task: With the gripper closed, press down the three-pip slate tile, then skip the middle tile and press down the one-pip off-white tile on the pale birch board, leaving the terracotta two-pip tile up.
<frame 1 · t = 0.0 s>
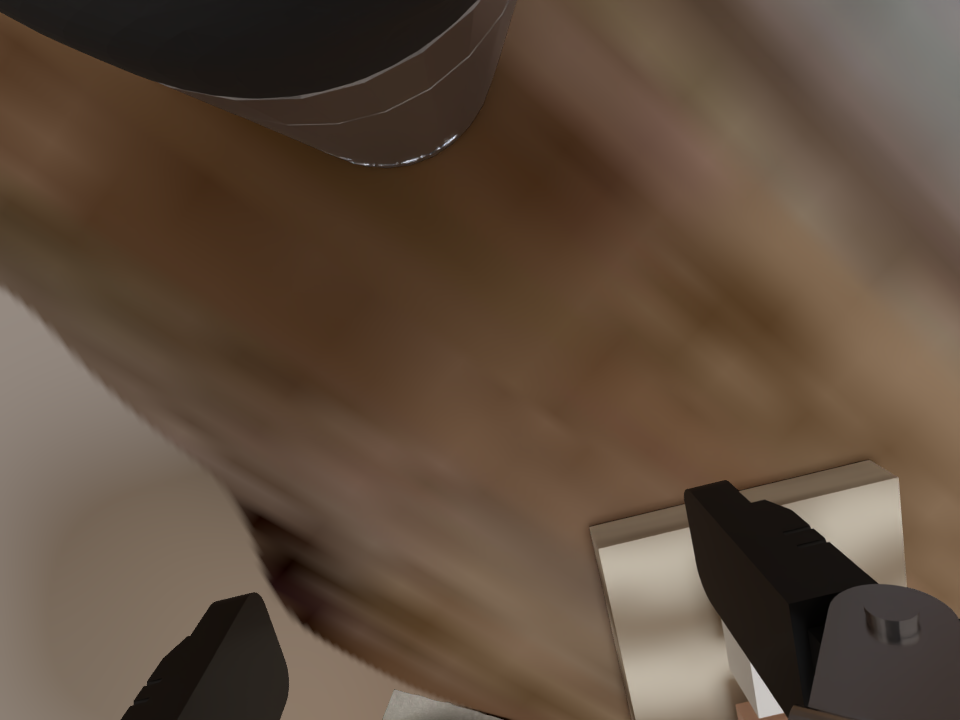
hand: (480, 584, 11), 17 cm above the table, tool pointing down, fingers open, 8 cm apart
board: (757, 677, 33), on the table
tile 1: (794, 633, 26), point 5 cm above the table, slide at 0.0 cm
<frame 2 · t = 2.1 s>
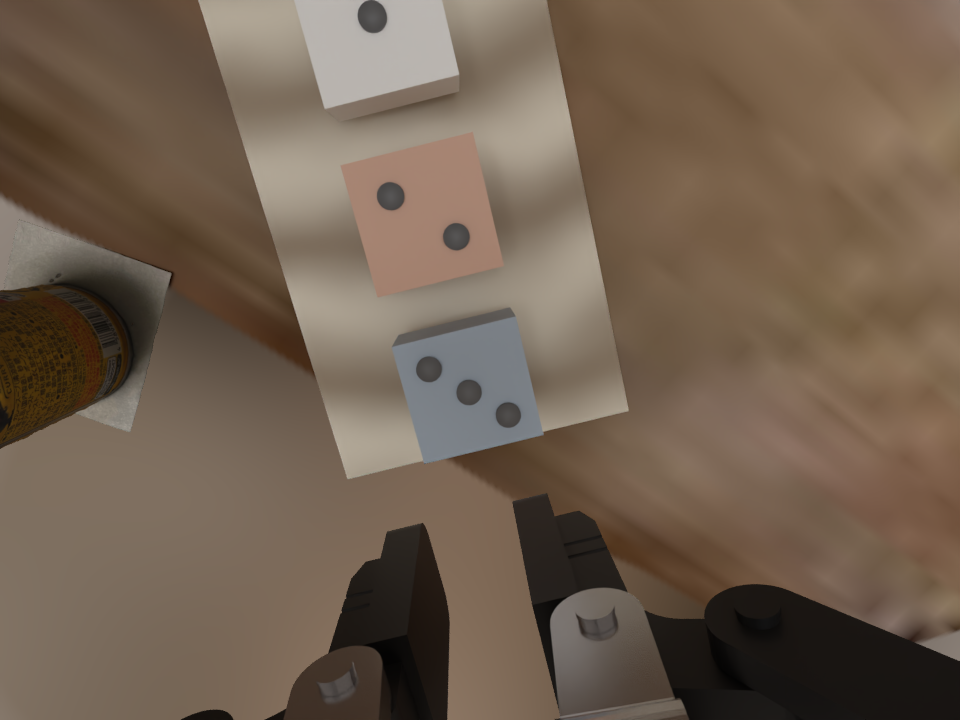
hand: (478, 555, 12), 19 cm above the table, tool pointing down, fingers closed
tile 2: (425, 217, 24), point 5 cm above the table, slide at 0.0 cm
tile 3: (468, 383, 26), point 5 cm above the table, slide at 0.0 cm
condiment: (81, 328, 30), on the table
board: (431, 219, 30), on the table
tile 1: (377, 29, 23), point 5 cm above the table, slide at 0.0 cm
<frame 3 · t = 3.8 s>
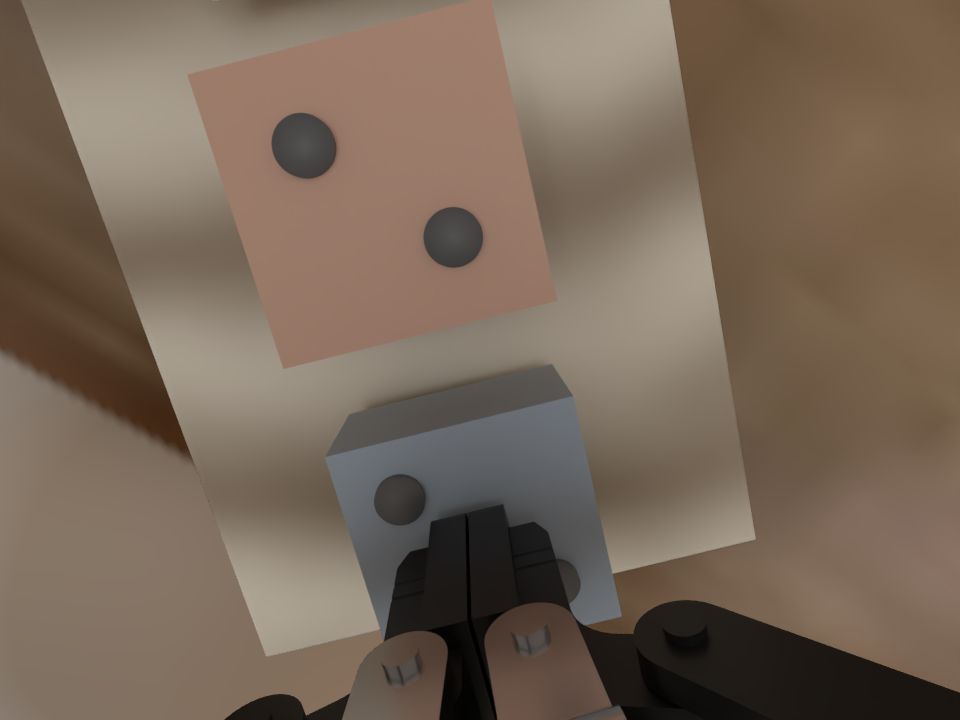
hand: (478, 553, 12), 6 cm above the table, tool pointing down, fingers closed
tile 2: (389, 196, 12), point 5 cm above the table, slide at 0.0 cm
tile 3: (477, 510, 14), point 5 cm above the table, slide at 0.7 cm, touching gripper
board: (410, 204, 17), on the table
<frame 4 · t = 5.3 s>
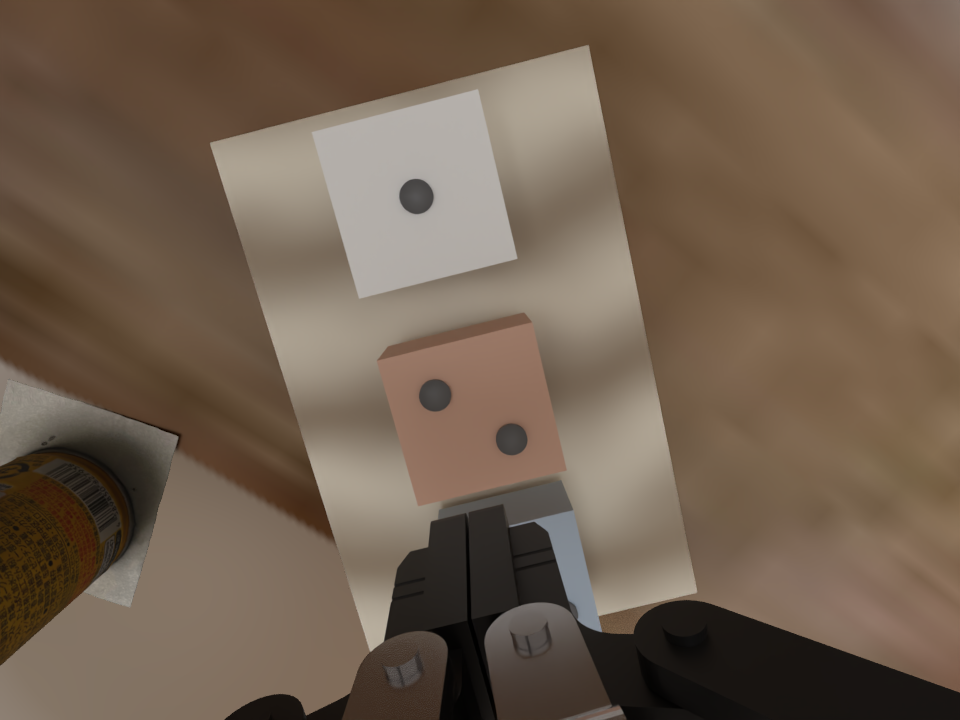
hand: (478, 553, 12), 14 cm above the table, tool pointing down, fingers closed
tile 2: (473, 406, 21), point 5 cm above the table, slide at 0.0 cm
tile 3: (517, 570, 23), point 4 cm above the table, slide at 1.2 cm
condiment: (77, 493, 27), on the table
board: (471, 374, 26), on the table
tile 1: (420, 199, 20), point 5 cm above the table, slide at 0.0 cm
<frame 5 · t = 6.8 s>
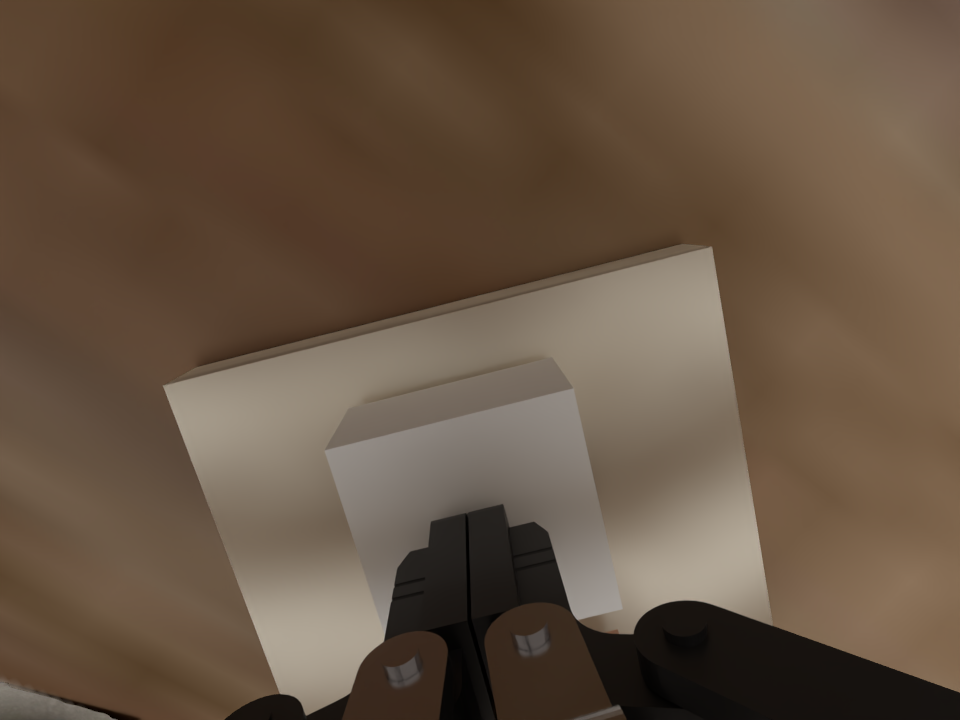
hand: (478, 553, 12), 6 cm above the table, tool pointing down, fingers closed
board: (526, 639, 20), on the table
tile 1: (477, 504, 14), point 4 cm above the table, slide at 0.8 cm, touching gripper
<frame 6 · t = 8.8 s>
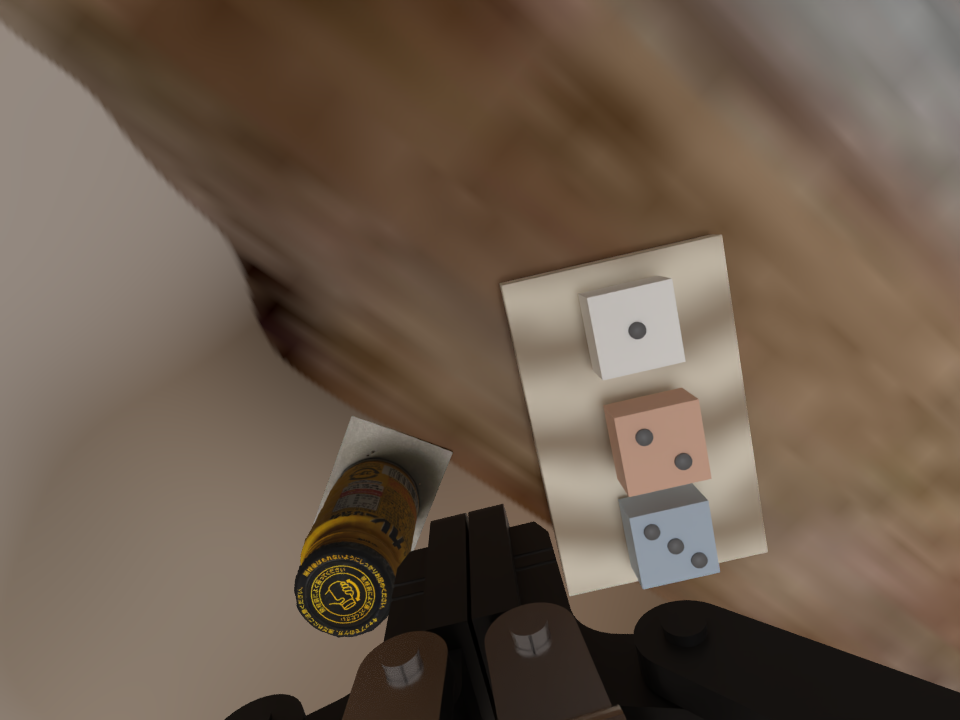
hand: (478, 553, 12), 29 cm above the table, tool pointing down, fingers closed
tile 2: (656, 441, 37), point 5 cm above the table, slide at 0.0 cm
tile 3: (668, 535, 40), point 4 cm above the table, slide at 1.2 cm
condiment: (382, 486, 43), on the table
board: (633, 416, 43), on the table
tile 1: (630, 327, 37), point 4 cm above the table, slide at 1.3 cm
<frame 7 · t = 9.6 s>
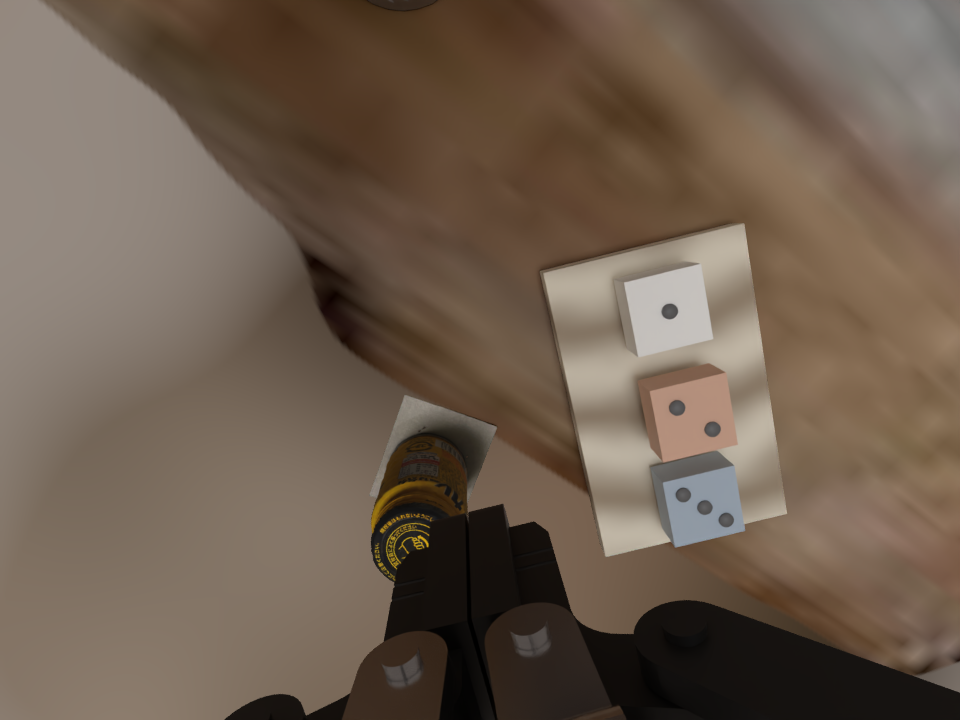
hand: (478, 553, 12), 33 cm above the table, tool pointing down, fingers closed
tile 2: (687, 412, 41), point 5 cm above the table, slide at 0.0 cm
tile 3: (697, 498, 44), point 4 cm above the table, slide at 1.2 cm
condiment: (432, 459, 47), on the table
board: (662, 392, 46), on the table
tile 1: (662, 308, 41), point 4 cm above the table, slide at 1.3 cm
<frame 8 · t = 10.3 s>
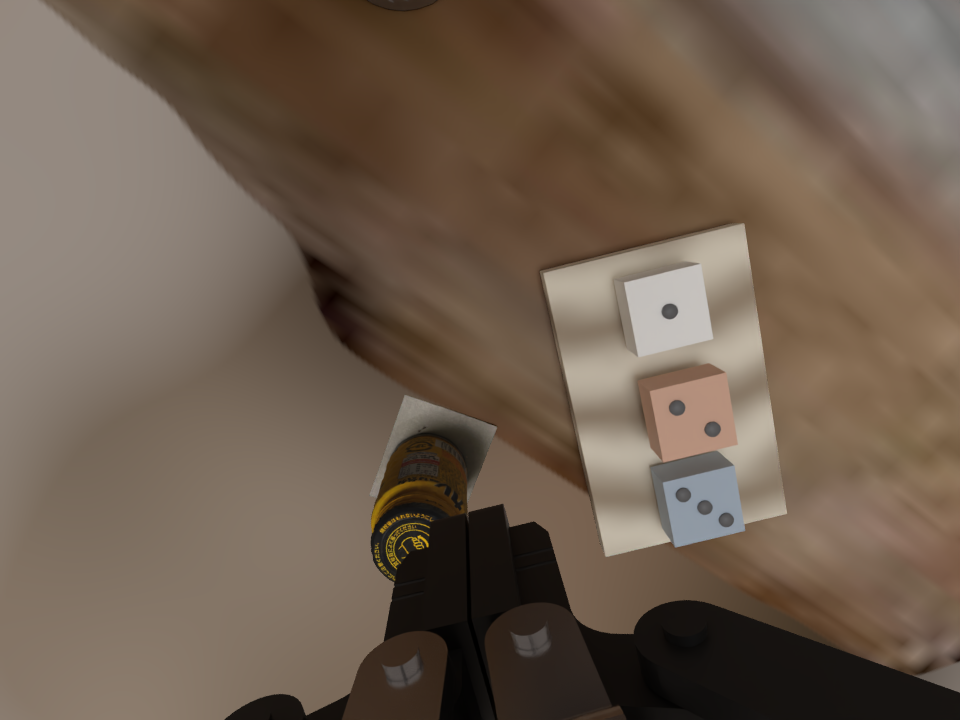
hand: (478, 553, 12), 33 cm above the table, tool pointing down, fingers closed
tile 2: (687, 412, 41), point 5 cm above the table, slide at 0.0 cm
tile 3: (697, 498, 44), point 4 cm above the table, slide at 1.2 cm
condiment: (432, 459, 47), on the table
board: (662, 392, 46), on the table
tile 1: (662, 308, 41), point 4 cm above the table, slide at 1.3 cm
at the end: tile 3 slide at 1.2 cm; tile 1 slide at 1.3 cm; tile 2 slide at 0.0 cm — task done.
